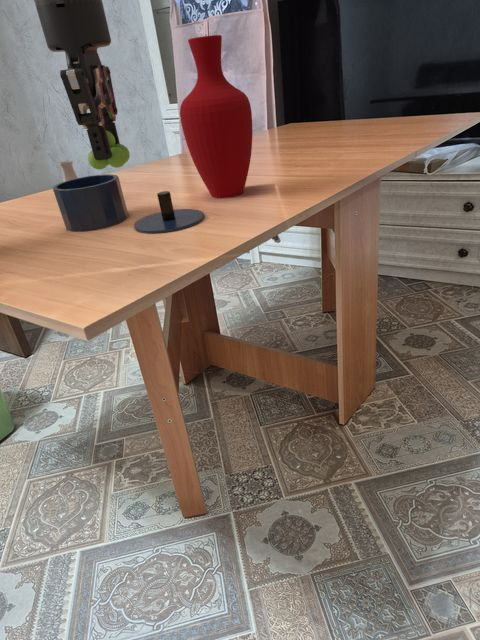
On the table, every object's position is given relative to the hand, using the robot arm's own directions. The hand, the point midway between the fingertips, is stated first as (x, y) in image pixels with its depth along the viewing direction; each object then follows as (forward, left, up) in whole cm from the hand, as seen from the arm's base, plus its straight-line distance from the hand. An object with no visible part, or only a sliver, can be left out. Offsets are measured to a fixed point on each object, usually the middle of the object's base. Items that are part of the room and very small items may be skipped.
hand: (108, 155), depth 63 cm
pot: (-14, +29, -16) cm, 36 cm away
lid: (+2, +22, -16) cm, 27 cm away
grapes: (0, 0, -2) cm, 2 cm away
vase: (+13, +39, -17) cm, 44 cm away
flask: (-24, +49, -17) cm, 57 cm away
